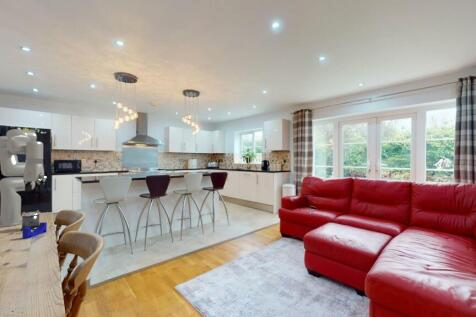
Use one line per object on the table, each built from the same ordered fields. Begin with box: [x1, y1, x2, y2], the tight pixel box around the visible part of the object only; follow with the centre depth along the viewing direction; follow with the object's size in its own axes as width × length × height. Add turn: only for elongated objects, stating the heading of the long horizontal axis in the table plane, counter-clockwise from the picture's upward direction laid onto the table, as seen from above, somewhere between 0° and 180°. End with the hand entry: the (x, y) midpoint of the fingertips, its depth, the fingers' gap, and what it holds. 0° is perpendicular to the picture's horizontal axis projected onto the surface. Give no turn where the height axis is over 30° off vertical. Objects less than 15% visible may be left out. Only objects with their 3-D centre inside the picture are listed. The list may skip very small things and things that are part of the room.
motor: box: [20, 209, 41, 232], centre depth 141 cm, size 9×9×11 cm
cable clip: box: [21, 221, 48, 240], centre depth 129 cm, size 12×4×6 cm, turn 0°
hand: (34, 191), depth 131 cm, fingers open, 9 cm apart
